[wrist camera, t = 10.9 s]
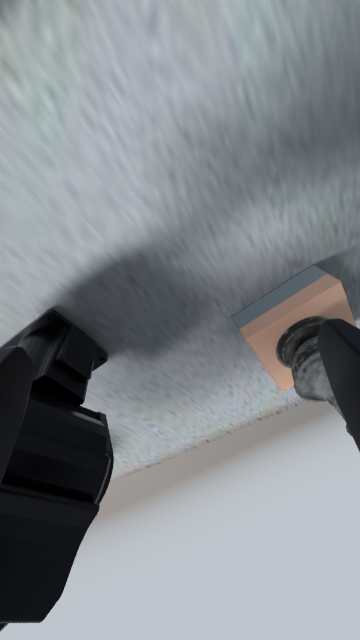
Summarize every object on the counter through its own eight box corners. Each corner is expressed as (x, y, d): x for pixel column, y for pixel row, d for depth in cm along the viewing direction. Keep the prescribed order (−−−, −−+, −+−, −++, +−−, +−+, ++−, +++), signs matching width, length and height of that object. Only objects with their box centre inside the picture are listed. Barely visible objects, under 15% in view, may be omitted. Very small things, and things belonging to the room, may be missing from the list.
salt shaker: (318, 298, 19) (518, 451, 9) (352, 337, 22) (536, 488, 12) (258, 350, 21) (372, 525, 11) (296, 380, 24) (416, 542, 14)
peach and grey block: (266, 367, 28) (282, 392, 25) (231, 317, 23) (245, 340, 21) (337, 325, 26) (364, 347, 23) (313, 264, 22) (341, 281, 19)
